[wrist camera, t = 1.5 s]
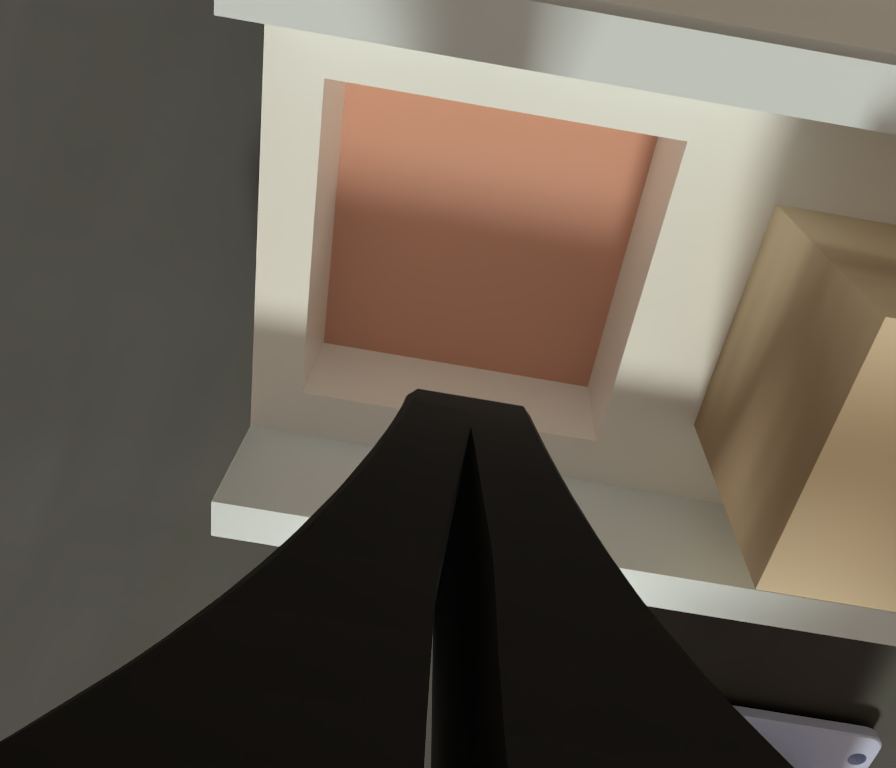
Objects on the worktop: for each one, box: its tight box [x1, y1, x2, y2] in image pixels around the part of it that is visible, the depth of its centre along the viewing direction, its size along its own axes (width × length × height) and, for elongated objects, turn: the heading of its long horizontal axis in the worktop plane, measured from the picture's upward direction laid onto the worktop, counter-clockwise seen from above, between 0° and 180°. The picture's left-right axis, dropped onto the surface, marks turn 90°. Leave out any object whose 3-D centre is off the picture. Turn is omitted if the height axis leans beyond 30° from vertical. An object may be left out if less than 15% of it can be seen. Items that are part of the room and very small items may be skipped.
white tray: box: [211, 0, 896, 646], centre depth 15 cm, size 11×22×5 cm, turn 81°
